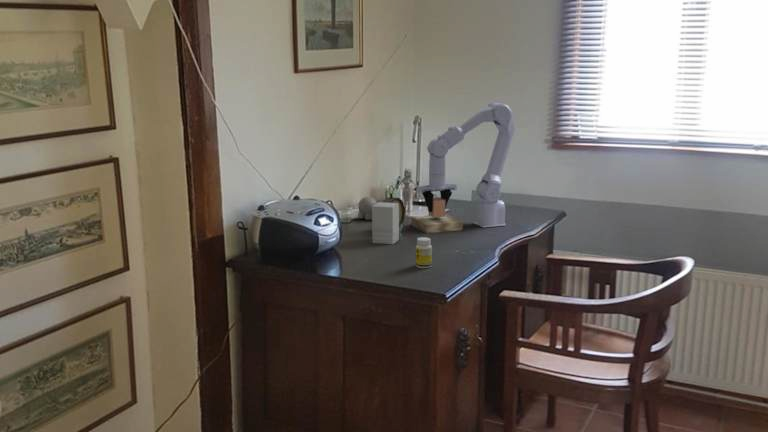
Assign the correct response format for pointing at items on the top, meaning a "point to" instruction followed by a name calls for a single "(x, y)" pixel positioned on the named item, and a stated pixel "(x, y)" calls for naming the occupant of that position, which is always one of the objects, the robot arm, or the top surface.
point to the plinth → (436, 223)
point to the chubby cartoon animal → (366, 208)
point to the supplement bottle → (423, 253)
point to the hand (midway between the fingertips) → (436, 211)
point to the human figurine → (407, 189)
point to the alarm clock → (401, 206)
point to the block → (438, 208)
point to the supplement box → (385, 222)
